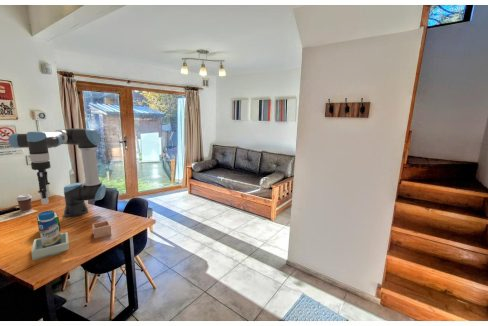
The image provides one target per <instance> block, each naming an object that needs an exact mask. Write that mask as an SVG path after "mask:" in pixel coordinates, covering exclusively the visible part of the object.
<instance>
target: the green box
mask: <svg viewBox="0 0 488 326" xmlns="http://www.w3.org/2000/svg"><path fill="white" fill-rule="evenodd" d="M68 233H69V232H62V233H60V239H61V244H58V245H54V246H50V247H46V248H43V246H42V241H41V237H40V238H35V239H34V240H33V242H32V247H31V258H32V261H37V260H41V259H45V258H49V257H52V256H57V255H59V254H63V252H65V251H69V250H70V246H69V245H70V239H69V234H68Z"/></svg>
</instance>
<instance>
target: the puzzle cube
mask: <svg viewBox="0 0 488 326" xmlns="http://www.w3.org/2000/svg"><path fill="white" fill-rule="evenodd" d="M54 214H55V217H54V218H55V219H56V220H57V222H58V223H57V224H58V226H59V232H61V225H60V218H59V215H58V213H57V212H54ZM36 220H37V227H38V226H39V223H40V220H39V218H38V215H37V216H36ZM39 229H40V228H39V227H38V230H39Z"/></svg>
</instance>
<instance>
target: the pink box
mask: <svg viewBox="0 0 488 326" xmlns="http://www.w3.org/2000/svg"><path fill="white" fill-rule="evenodd" d="M91 226H92V228H91V229H92V234H93V238H94V239H99V238H103V237H105V236H109V235H110V236H111V235H112V227H111V226H112V225H111V223H110V220H109V219H108V220H103V221H100V222H93V223H92V224H91Z"/></svg>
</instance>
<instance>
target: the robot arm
mask: <svg viewBox="0 0 488 326" xmlns="http://www.w3.org/2000/svg"><path fill="white" fill-rule="evenodd" d="M7 139H8V144H9V145H10V146H11V147H12V148H19V149H21V148H23V149H24V148H25V149H26V148H27V149H28V153H29V155H28V158H29V159H30V162H31V163H30V166H31V170H33V171H37V172H36V175H37V181H38V189H39V190H38V191H37V192H38V193H39V194H40V195H39V196H40V201H41V205H42V206H43V205H48V204H49V203H50V202H49V197H51V193H50V187H49V186H50V185H51V182H49V180H48V171H47V169H51V167H52V166H51V161H50V160H51V158H50V152H49V149H52V148H56V147H59V146H61V145H72V146H77V147H78V149H79V150H80V151H81V152H80V153H81V159H82V164H83V173H84V179H85V182H84V183H83V182H75V183H70V184H67V185H65V186H64V187H63V194H64V195H63V196H64V202H65V207H64V210H63V217H65V218H76V217H77V218H78V217H81V216H84V215H86V214H88V213H89V208H88V206H87V204H86V203H85V201H99V200H102V199H103V198H104V197H105V195H106V190H107V189H106V188H107V186H106V185H105V184H103V183H102V181H101V180H100V176H99V170H98V161H97V152H96V149H97V148H98V145H100V143H101V138H100V134H99V132H98V131H97V130H96V129H94V128H66V129H57V130H54V131H47V132H45V131H42V130H41V131H39V130H37V131H35V130H34V131H28V132H26V133H12V134H10V135H9V136H8V138H7Z"/></svg>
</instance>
